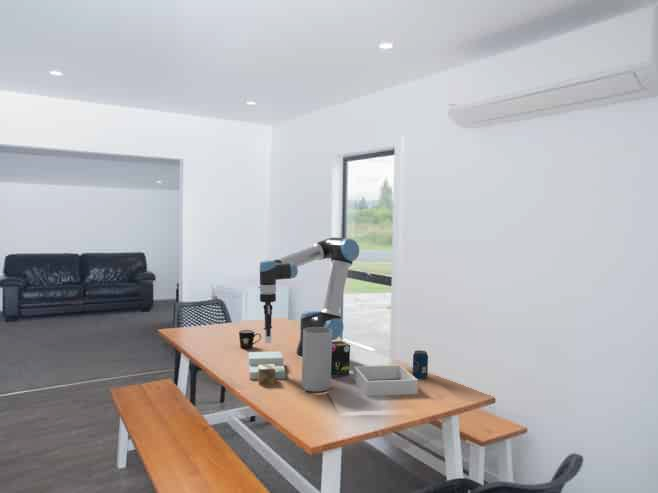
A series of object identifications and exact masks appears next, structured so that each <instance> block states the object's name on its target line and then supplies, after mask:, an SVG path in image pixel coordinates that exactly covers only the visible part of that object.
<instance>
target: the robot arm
mask: <svg viewBox="0 0 658 493" xmlns="http://www.w3.org/2000/svg"><path fill="white" fill-rule="evenodd" d="M359 255H360V247H359V245H358V242H357V241H356V240H355V239H352V238H350V237H349V238H348V237H330V238H326V239H323V240H320V241H318V242H314V243H313V244H312V246H310V247H309V246H308V247H307V248H303V249H302V250H299V251H296V252H295V251H294V252H293V253H290V254H287V255H285V256H282V257H279V258H277V259H271V260H270V259H269V260H267V259H265V260H261V261H260V262H259V270H258V271H259V286H258V289H259V301H260V302H261V303H264V305H263V315H264V327H263V329H264V335H265V336H264V343H266V344H270V343H272V329H273V326H272V316H273V305H272V303H274V302H275V303H276V301H277V294H276V293H277V280H291V279H294V278H296V277H298V276H297V275H298V273H299V271H298V267H301V266H304V265H305V264H309V263H312V262H314V261H321V260H325V259H330V262H331V263H332V267H331V271H330V274H329V275H330V276H329V281H328V285H327V291H326V294H325V299H324V304H323V307H322V309H321V310H310V311H309V310H308V311H303V312H301V314H300V329H299V330H300V336H299V337H300V338H299V341H298V344H297V347H296V354H297V355H298V356H303V329H305V328H309V327H324V328H329V329H332V341H335V340H337V339H338V338H339V337H341V335H342V333H343V332H344V324H343V323H344V322H343V321H342V315H341V312H340V310H341V307H342V306H341V305H342V299H343V295H344V290H345V286H346V281H347V276H348V272H349V268H350V267H351V266H352V265H353V262H354V261H355V260H357V259H358V258H359Z"/></svg>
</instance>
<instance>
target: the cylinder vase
mask: <svg viewBox="0 0 658 493" xmlns="http://www.w3.org/2000/svg"><path fill="white" fill-rule="evenodd" d="M332 342H333V340H332V329H329V328H324V327H309V328H305V329H303V356H302V355H301V356H302V357H301V358H302V362H301V363H302V365H301V369H302V370H301V388H302V389H303V390H305V391H308V392H315V393H317V392H318V393H319V392H326V391H328V390H330V388H331V387H332V386H331V385H332V378H331V357H332Z"/></svg>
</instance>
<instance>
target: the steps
mask: <svg viewBox="0 0 658 493" xmlns="http://www.w3.org/2000/svg"><path fill="white" fill-rule="evenodd" d="M247 361H248V364H247V365H248V374H249V375H248V376H249V380H258V364H274V366H275V380H276V379H277V380H278V379H286V370H285V366H284V357H283V354H282V351H249V352H248V360H247Z"/></svg>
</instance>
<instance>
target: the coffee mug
mask: <svg viewBox="0 0 658 493" xmlns="http://www.w3.org/2000/svg"><path fill="white" fill-rule="evenodd" d="M256 335H258V336H259V338H258V340H256V341H255V342H254V338H255V337H256ZM238 336H239V345H240V346H239V347H240V349H244V350H250V349H252V348H253V345H255V344H256V343H258V342H259V341H260V340H261V338H262V335H261V334H260V333H255V330H253V329H239V331H238Z"/></svg>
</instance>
